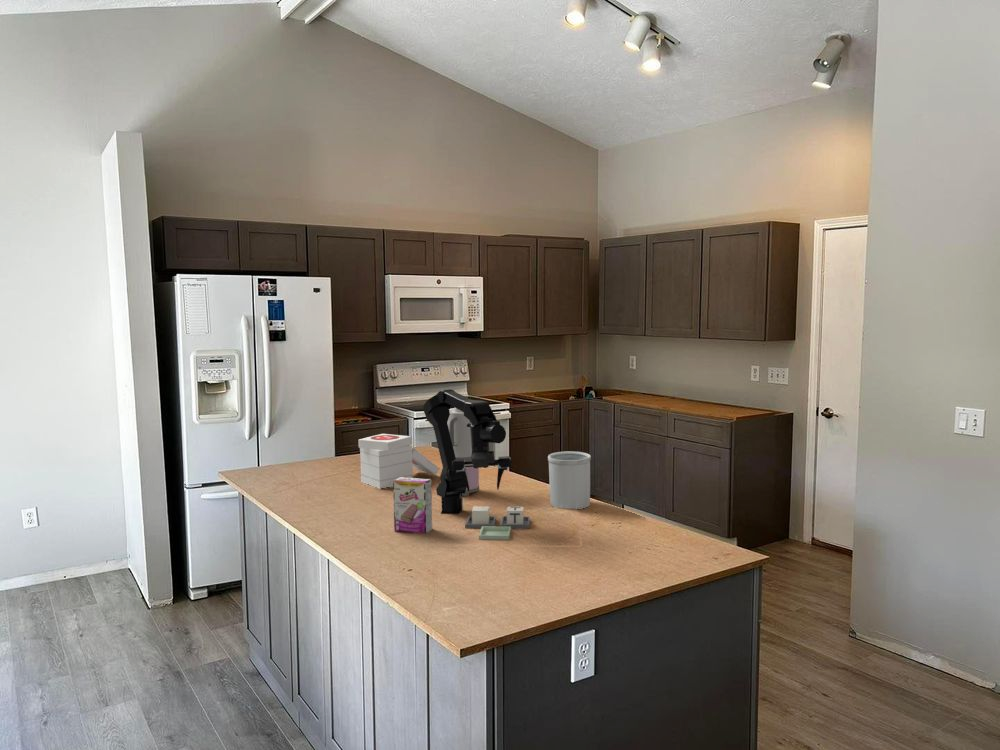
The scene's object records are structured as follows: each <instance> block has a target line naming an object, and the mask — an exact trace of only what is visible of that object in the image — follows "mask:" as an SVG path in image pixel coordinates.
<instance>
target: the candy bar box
mask: <svg viewBox="0 0 1000 750" xmlns="http://www.w3.org/2000/svg"><path fill="white" fill-rule="evenodd" d="M392 488H393V527H394V528H393V529H394V532H401V531H403V532H404V533H411V532H412V533H419V534H427V533H428V532H430V531H432V530H433V506H432V505H433V503H432V502H433V501H432V499H433V498H432V496H433V495H432V479H431V478H419V477H417V478H416V477H413V478H408V477H399V478H397V479H394V480H393V487H392Z"/></svg>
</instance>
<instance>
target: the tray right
mask: <svg viewBox="0 0 1000 750" xmlns="http://www.w3.org/2000/svg"><path fill="white" fill-rule="evenodd" d="M530 523H531V516H524V523H523V524H507V515H506V516H504V515H502V517H501V519H500V524H499V527H511V530H514V529H518V530H519V529H521V530H522V529H523V530H527V529H530Z"/></svg>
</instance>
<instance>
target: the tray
mask: <svg viewBox="0 0 1000 750" xmlns="http://www.w3.org/2000/svg"><path fill="white" fill-rule="evenodd" d="M511 532H512V529H511V527H500V526H496V525H495V526H482V528H480V531H479V534H478V540H483V541H484V540H491V541H492V540H493V541H496V540H501V541H502V540H503V541H508V540H509V541H510V536H511Z"/></svg>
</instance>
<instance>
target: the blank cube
mask: <svg viewBox="0 0 1000 750" xmlns="http://www.w3.org/2000/svg"><path fill="white" fill-rule="evenodd" d="M471 516H472V524H489V516H490V506H487V505H486V506H485V505H484V506H475V505H473V507H472V510H471Z"/></svg>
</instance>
